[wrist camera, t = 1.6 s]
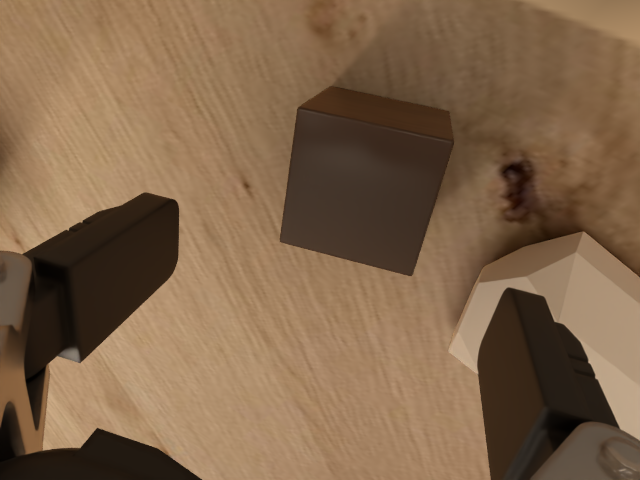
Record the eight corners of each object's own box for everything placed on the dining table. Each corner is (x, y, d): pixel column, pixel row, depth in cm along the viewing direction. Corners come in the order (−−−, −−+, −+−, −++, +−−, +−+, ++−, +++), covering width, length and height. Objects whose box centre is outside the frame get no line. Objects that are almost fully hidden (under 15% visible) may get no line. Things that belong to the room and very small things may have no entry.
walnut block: (329, 85, 18) (296, 106, 14) (450, 111, 18) (455, 140, 13) (311, 195, 21) (278, 242, 16) (417, 221, 20) (412, 277, 16)
